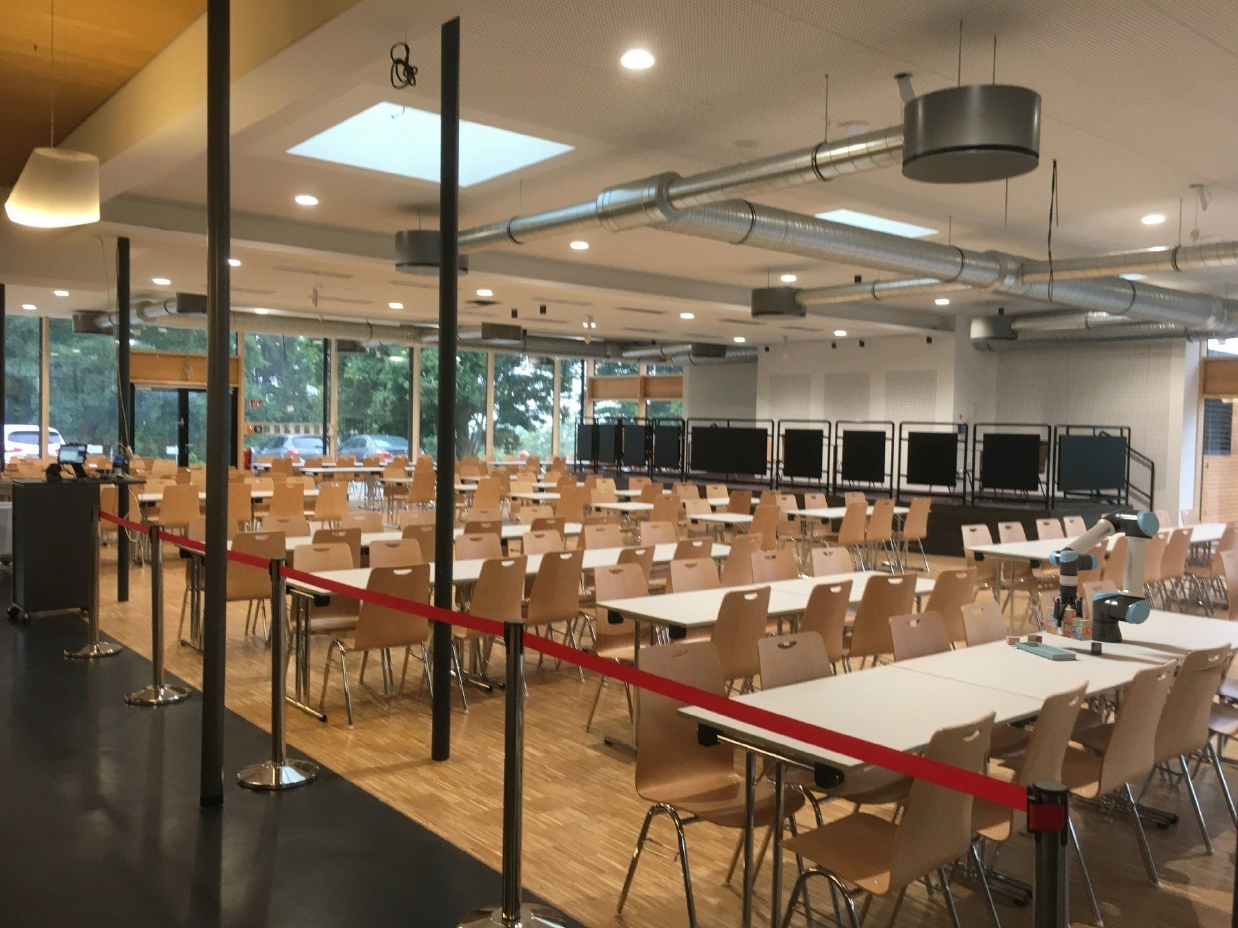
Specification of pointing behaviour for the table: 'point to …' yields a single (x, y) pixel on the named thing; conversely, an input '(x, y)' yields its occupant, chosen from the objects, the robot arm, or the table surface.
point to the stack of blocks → (1069, 625)
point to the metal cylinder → (1096, 648)
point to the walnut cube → (1034, 638)
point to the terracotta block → (1012, 640)
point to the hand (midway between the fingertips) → (1067, 633)
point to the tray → (1045, 651)
